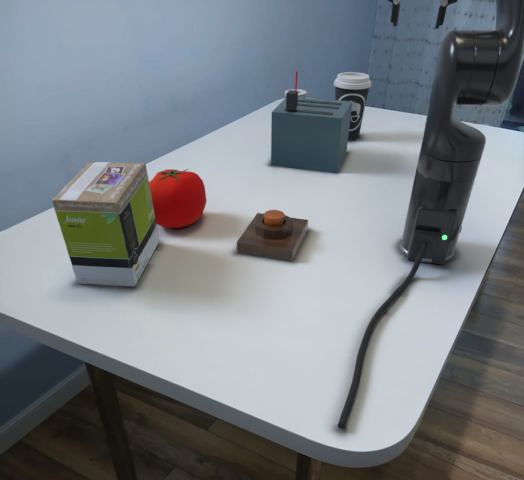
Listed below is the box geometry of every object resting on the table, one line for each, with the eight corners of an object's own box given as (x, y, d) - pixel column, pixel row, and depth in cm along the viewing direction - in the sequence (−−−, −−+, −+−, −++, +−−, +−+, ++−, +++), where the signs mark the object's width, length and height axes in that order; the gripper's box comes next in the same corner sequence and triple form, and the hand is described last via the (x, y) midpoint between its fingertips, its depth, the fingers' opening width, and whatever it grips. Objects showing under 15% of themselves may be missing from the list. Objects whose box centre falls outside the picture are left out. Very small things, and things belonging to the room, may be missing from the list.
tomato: (221, 221, 96) (218, 168, 90) (167, 243, 90) (159, 188, 83) (187, 203, 103) (182, 152, 96) (134, 222, 96) (124, 169, 89)
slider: (294, 111, 111) (295, 93, 108) (285, 110, 111) (286, 93, 109) (297, 107, 113) (298, 90, 110) (288, 106, 113) (289, 90, 111)
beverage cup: (305, 129, 139) (309, 74, 130) (284, 129, 139) (285, 74, 130) (304, 122, 144) (307, 68, 135) (283, 122, 144) (284, 68, 135)
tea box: (107, 239, 91) (89, 158, 81) (160, 243, 90) (148, 161, 80) (75, 285, 79) (49, 196, 70) (135, 289, 79) (118, 200, 69)
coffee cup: (371, 137, 134) (380, 75, 125) (349, 145, 130) (356, 82, 120) (344, 129, 140) (350, 69, 130) (321, 136, 135) (326, 75, 125)
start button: (281, 229, 86) (281, 219, 85) (261, 226, 87) (261, 217, 86) (286, 220, 89) (286, 211, 88) (267, 217, 90) (267, 208, 89)
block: (291, 261, 85) (292, 240, 82) (237, 253, 87) (236, 232, 85) (307, 230, 94) (308, 210, 91) (257, 223, 96) (257, 203, 93)
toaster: (336, 172, 115) (342, 117, 107) (270, 165, 119) (271, 111, 111) (346, 152, 126) (352, 101, 118) (285, 146, 129) (287, 95, 121)
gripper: (392, -76, 91) (379, 28, 102) (473, -76, 88) (450, 31, 98) (397, -76, 96) (383, 22, 107) (474, -76, 93) (452, 26, 104)
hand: (416, 27), depth 103 cm, fingers open, 8 cm apart
